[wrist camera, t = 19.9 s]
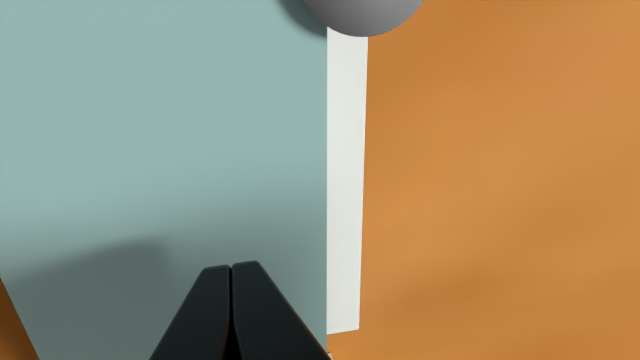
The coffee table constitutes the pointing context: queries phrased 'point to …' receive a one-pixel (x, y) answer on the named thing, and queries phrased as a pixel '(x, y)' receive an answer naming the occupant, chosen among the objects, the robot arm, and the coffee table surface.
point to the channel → (345, 176)
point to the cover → (163, 158)
